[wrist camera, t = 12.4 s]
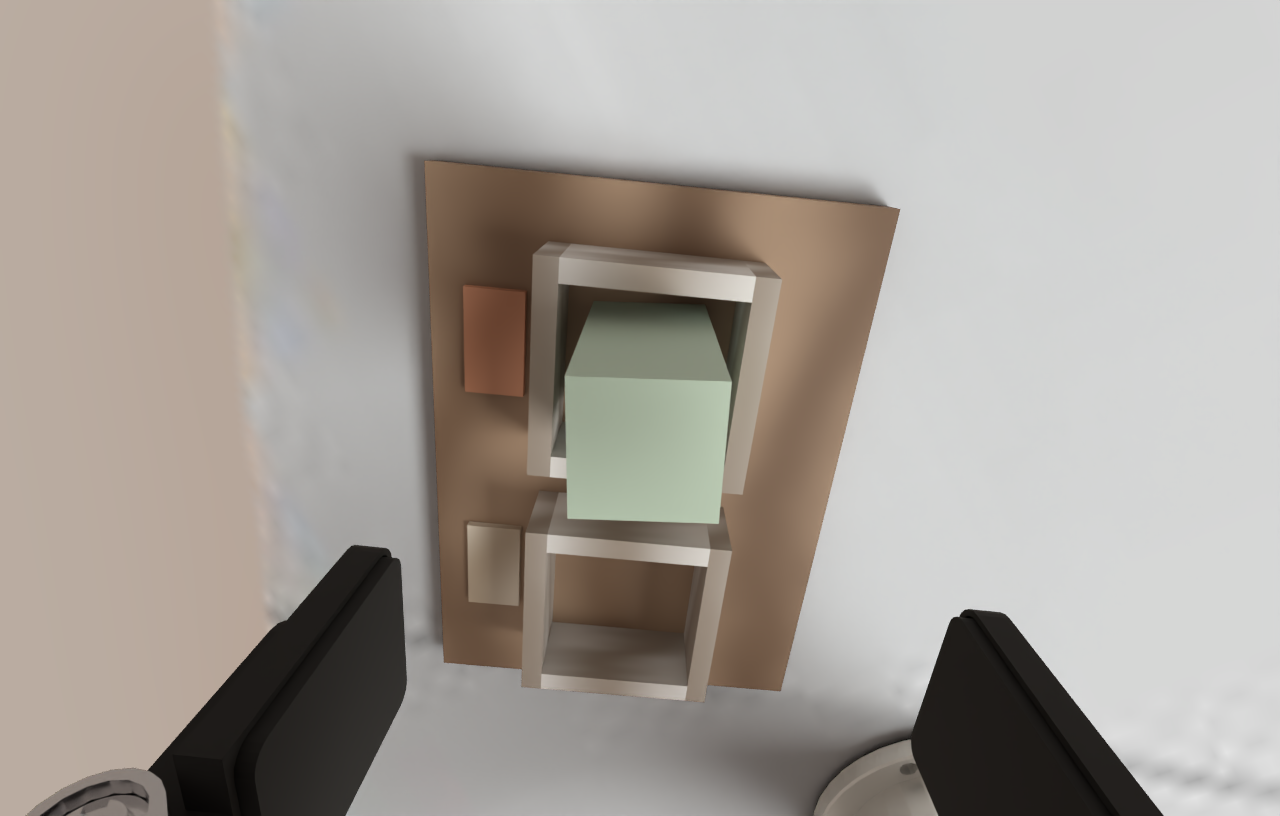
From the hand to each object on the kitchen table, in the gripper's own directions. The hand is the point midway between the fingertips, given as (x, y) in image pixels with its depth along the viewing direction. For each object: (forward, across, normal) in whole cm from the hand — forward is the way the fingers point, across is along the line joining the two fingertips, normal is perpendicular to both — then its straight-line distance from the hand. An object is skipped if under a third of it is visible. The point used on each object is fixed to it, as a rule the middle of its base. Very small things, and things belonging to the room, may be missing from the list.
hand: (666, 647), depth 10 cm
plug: (+14, +1, -1) cm, 14 cm away
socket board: (+15, +1, +4) cm, 15 cm away
